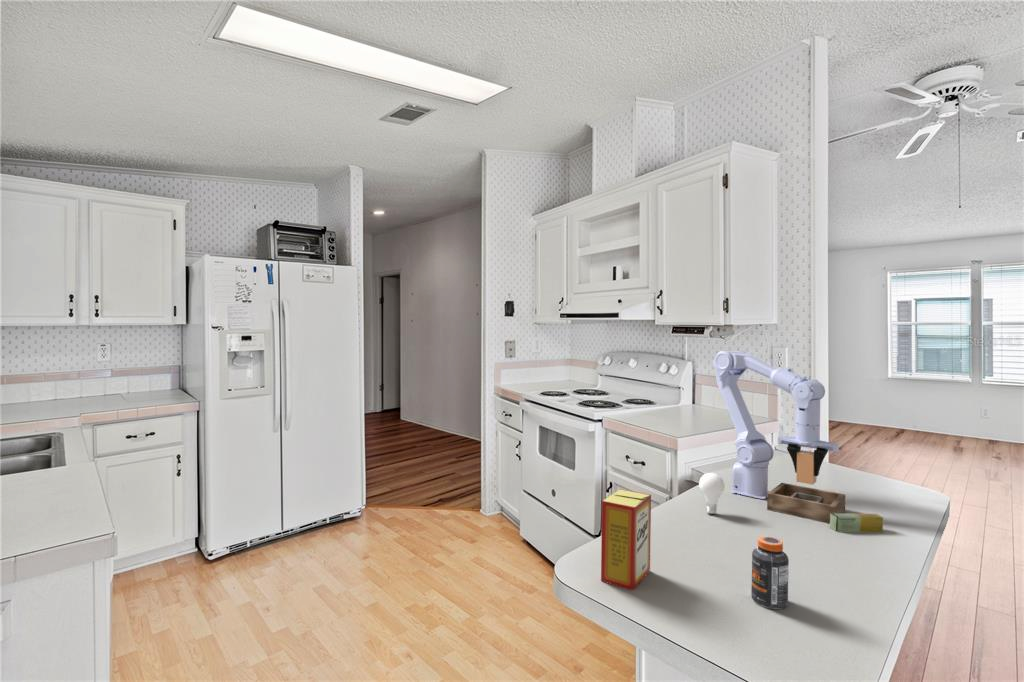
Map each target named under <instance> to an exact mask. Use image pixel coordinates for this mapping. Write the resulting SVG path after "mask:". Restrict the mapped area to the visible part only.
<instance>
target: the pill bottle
mask: <svg viewBox="0 0 1024 682" xmlns="http://www.w3.org/2000/svg"><path fill="white" fill-rule="evenodd" d="M783 543H784V542H783V541H782V540H781V539H780V538H778V537H774V536H769V535H762V536H759V537H758V540H757V547H755V548H753V550H752V551H751V553H752V554H751V555H752V556H751V592H750V593H751V599H752V601H754V603H756V604H757V605H759V606H761V607H764V608H767V609H772V610H782V609H785V608H786V607H788V603H789V601H788V600H789V574H790V573H789V562H790V561H789V556H788V554H787V553H785V552H784V551H783V550H784V544H783Z"/></svg>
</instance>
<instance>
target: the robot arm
mask: <svg viewBox="0 0 1024 682" xmlns="http://www.w3.org/2000/svg"><path fill="white" fill-rule="evenodd" d="M712 365H713V368H714V370H715V377H716V384H717V387H718V389H719V392H720V395H721V398H722V399H723V402H724V404H725V406H726V409H727V411H728V414H729V416H730V419H731V422H732V424H733V427H734V429H735V433H736V434H737V438H736V440H735V441H734V445H735V448H736V457H737V460H738V461H736V462H735V463H734V464H733V467H732V479H731V483H732V484H731V489H732V490H731V491H730V492H733V493H732V494H735V493H737V494H736V495H740V494H741V496H746V497H749V498H754V499H760V500H766V499H767V493H769V492H770V490H769V491H768V489H769V488H768V485H769V483H768V482H769V465H770V461H772V459H773V458H774V452H775V451H774V449H773V446H772V445H771V444H770V443H769V442H768V441H767V438H765V435H764V434H762V433H761V432H759V431H758V430H757V429H756V426H755V423H754V421H753V418H752V416H751V413H750V411H749V409H748V407H747V405H746V402H745V400H744V398H743V395H742V392H741V391H740V388H739V385H738V383H737V382H738V381H739V379H740V378H741V377H742V375H743V374H744V373H745V372H746V371H747V369H748V370H750V371H753V372H755V373H756V374H759V375H761V376H763V377H766V378H768V379H770V380H771V384H772V385H773V386H775V387H777V388H778V389H781V390H783V391H785V392H787V393H788V394H790V395H791V396H792V397H793V400H795V407H796V408H795V409H796V410H795V436H794V437H793V436H782V435H779V436H777V445H786V446H787V447H786V450H787V452H788V455H789V456H790V458H791V460H792V464H793V466H794V467H793V468H794V473H796V474H797V452H799V451H800V450H802V449H801V448H809V449H814V450H813V452H814V459H815V466H814V476H817V477H818V476H819V474H820V469H821V466H822V463H823V461H824V459H825V457H826V455H827V454H828V453H829V452H830V451H831V452H835V453H838V452H839V450H840V444H839V443H835V442H830V441H826V440H821V439H820V435H821V400H822V399H823V398H824V396H825V393H826V389H825V386H824V385H823V383H822V382H820V381H818V379H808V377H807V376H806V375H800V374H798V373H796V372H794V371H792V370H793V369H792V368H791V367H778V368H777V367H774V366H772V365H770V364H769V363H767V362H765V361H763V360H761V359H760V358H758V357H756V356H754V355H753V354H752V353H750V352H746V351H745V350H735V351H731V350H729V351H726V350H721V351H718V352H717V354H716V355H715V356H714V359H713V362H712Z"/></svg>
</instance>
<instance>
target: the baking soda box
mask: <svg viewBox="0 0 1024 682" xmlns="http://www.w3.org/2000/svg"><path fill="white" fill-rule="evenodd" d="M651 511H652V494H648V493H645V492H644V493H643V492H638V491H632V490H628V489H622V488H620V489H618V490H617V491H616V492H614V493H612V494H611V495H609V496H608V497H606V498H604V499H603V500H602V501H601V549H600V550H601V553H600V554H601V555H600V556H601V558H600V559H601V561H600V562H601V564H600V567H601V568H600V569H601V571H600V581H601V582H603V581H605V582H604V583H606V582H608V583H607V584H609V583H611V584H610V585H613V584H614V586H616V585H617V587H620V588H623V589H627V590H630V591H634V590H635V589H637V587H638V586H639V585H640V584H641V582H642V581H643V580H644V579H645V578H644V577H646V576H647V575H648V574H649V573H650V572H649V570H650V571H651V531H652V529H651V527H652V526H651V525H652V523H651V522H652V521H651V520H652V519H651V518H652V517H651V516H652V515H651V514H652V513H651ZM648 572H649V573H648ZM647 573H648V574H647ZM646 574H647V575H646ZM645 575H646V576H645ZM643 578H644V579H643ZM642 579H643V580H642ZM641 580H642V581H641ZM640 581H641V582H640ZM637 585H638V586H637Z"/></svg>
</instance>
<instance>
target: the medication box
mask: <svg viewBox="0 0 1024 682" xmlns="http://www.w3.org/2000/svg"><path fill="white" fill-rule="evenodd" d="M828 527H829V528H828V529H830V530H831V531H833V530H834V531H833V532H835V531H839V532H840V531H843V532H844V531H845V532H851V533H852V532H853V533H854V532H857V533H858V532H861V533H863V532H865V533H867V532H868V533H869V532H874V533H875V532H877V533H879V532H880V533H882V532H884V530H883V527H884V517H883V516H881V515H879V514H877V513H855V512H854V513H853V512H852V513H851V512H849V513H848V512H847V513H846V512H844V513H830V523H829V526H828ZM843 532H842V533H843ZM845 532H844V533H845ZM840 533H841V532H840Z"/></svg>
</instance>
